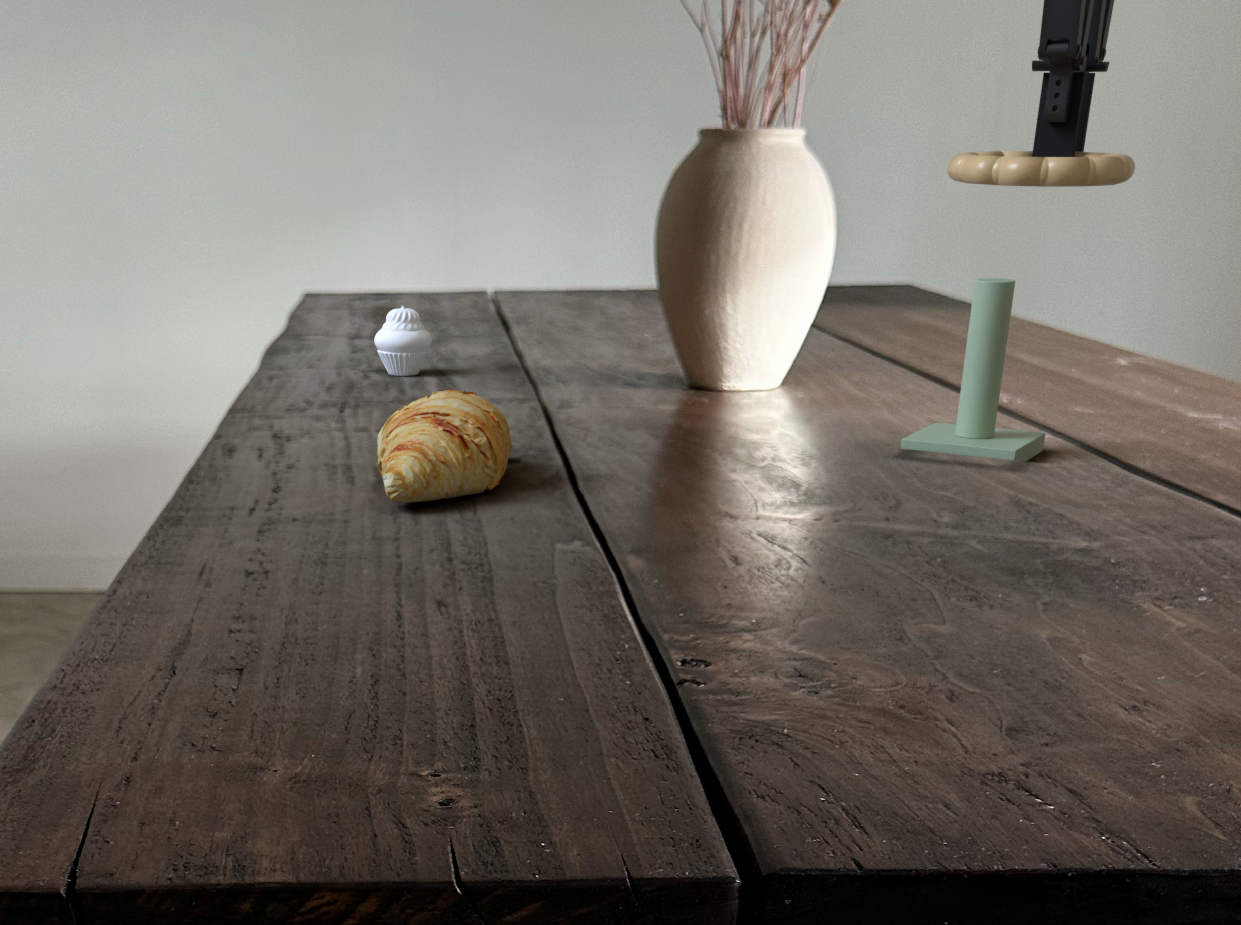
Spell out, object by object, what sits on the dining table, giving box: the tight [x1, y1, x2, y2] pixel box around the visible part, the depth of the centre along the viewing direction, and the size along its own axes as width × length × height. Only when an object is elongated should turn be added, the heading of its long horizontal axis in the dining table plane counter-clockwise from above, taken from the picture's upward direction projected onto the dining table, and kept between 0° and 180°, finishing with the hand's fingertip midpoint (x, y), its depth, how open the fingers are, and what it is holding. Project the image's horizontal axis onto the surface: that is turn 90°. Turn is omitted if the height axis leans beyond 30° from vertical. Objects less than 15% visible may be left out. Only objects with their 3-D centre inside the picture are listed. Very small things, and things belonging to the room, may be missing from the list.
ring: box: [946, 150, 1136, 188], centre depth 109 cm, size 12×12×2 cm
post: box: [900, 277, 1046, 462], centre depth 127 cm, size 9×9×14 cm
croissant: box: [376, 389, 512, 503], centre depth 118 cm, size 21×10×8 cm, turn 162°
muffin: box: [373, 305, 433, 377], centre depth 170 cm, size 6×6×7 cm
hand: (1055, 172), depth 113 cm, fingers closed on ring, 2 cm apart
